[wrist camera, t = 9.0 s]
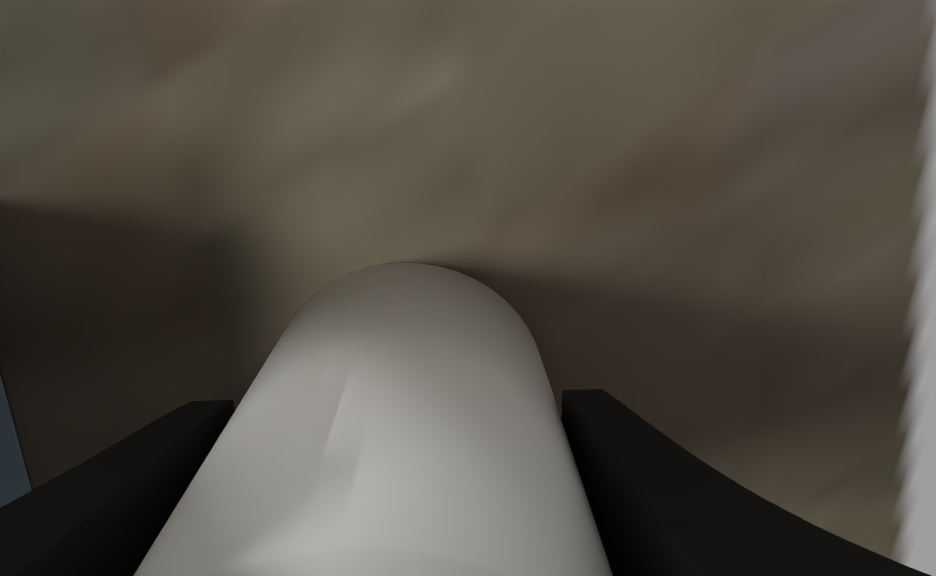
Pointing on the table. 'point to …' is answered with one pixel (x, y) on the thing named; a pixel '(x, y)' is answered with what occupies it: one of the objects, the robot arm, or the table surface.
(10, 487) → the tote
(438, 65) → the table surface
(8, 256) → the table surface
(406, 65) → the table surface
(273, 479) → the white egg shape
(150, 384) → the table surface
